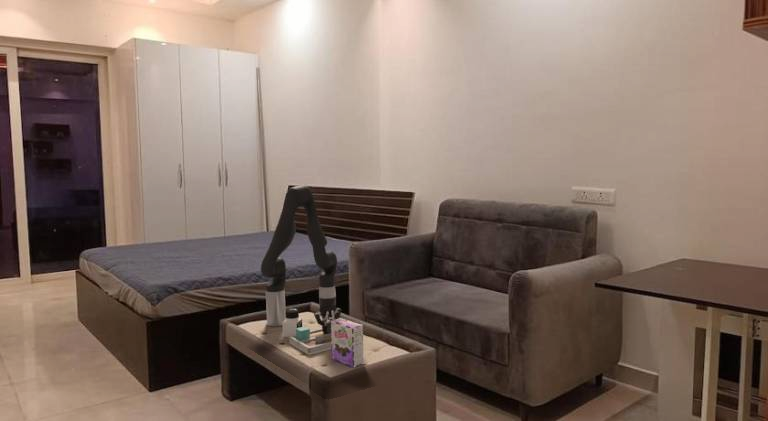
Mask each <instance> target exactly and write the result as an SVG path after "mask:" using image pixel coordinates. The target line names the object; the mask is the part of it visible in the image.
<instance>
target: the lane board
mask: <svg viewBox="0 0 768 421" xmlns="http://www.w3.org/2000/svg"><path fill="white" fill-rule="evenodd" d="M317 332H322V327H321V328H318V329H313V330H310V334H313V333H317ZM328 337H331V334H327V335H324V338H328ZM295 338H296V334H295V335H291V336H289V337H288V343H289V344H291V345H292V346H293V347H295V348H297V349H298V350H300V351H301V352H303V353H305V354H306V355H308V356H310V355H314V354H318V353H323V352H326V351H330V350H332V349H331V342H327V343H323V344H319V345H315V346H312V347H309V346H307V345H306V344H304V343H308V342H312V341H315V338H311V339H306V340H302V341H299V340H297V339H295Z"/></svg>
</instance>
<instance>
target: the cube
mask: <svg viewBox="0 0 768 421" xmlns="http://www.w3.org/2000/svg"><path fill="white" fill-rule="evenodd" d="M310 331H311V329H310V328H308V327H306V326H302V327H300V328H296V339H298V340H300V341H302V340H306V339H310Z"/></svg>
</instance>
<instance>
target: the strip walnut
mask: <svg viewBox="0 0 768 421" xmlns="http://www.w3.org/2000/svg"><path fill="white" fill-rule="evenodd" d="M327 342H331V337H328V338H324V343H327ZM304 344H306V345H307V346H309V347H312V346H315V345H319V344H316V342H315V341H312V342H308V343H304ZM322 344H323V343H322Z"/></svg>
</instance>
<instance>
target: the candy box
mask: <svg viewBox="0 0 768 421" xmlns="http://www.w3.org/2000/svg"><path fill="white" fill-rule="evenodd" d="M330 350H331V360H333V361H336V362H338V363H340V362H341V364H343V363H344V365H345V364H346V365H345V366H348V367H350V368H354V369H355V368H358V367H360V366H362V365H364V325H363V324H360V323H357V322H355V321H351V320H348V319H345V318H342V317H339V318H338V319H335V320H332V321H331V349H330Z"/></svg>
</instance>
